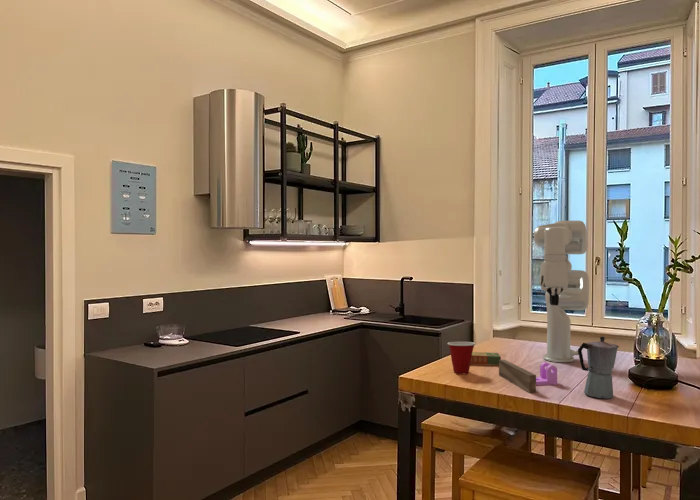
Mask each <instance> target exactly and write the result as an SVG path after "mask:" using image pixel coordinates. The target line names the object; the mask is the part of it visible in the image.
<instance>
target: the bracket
mask: <svg viewBox="0 0 700 500" xmlns="http://www.w3.org/2000/svg"><path fill="white" fill-rule="evenodd" d="M544 385H545V386H547V385H558V368H557V366H555V365H553V364H550V363H548V362H546V361H545V362H544V361H543V362H541V363H540V365H539V376H538V377H537V376H536V386H544Z"/></svg>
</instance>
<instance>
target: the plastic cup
mask: <svg viewBox="0 0 700 500" xmlns="http://www.w3.org/2000/svg"><path fill="white" fill-rule="evenodd" d="M475 345H476V343H475V342H472V341H450V342H447V346H448V348H449V352H450V357H451V364H452V369H453V373H454V374H459V375H466V374H469V372H470V367H471V365H472V364H471V358H472V352H474V347H475Z"/></svg>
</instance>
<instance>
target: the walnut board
mask: <svg viewBox="0 0 700 500" xmlns="http://www.w3.org/2000/svg"><path fill="white" fill-rule="evenodd" d="M498 376H499V377H501V378H502V379H505V380H506V381H508V382H510V383H511V384H513V385H515V386H517V387H518V388H520V389H521V390H524V391H525V392H527V393H529V394H533V393H537V385H536V377H537V375H536V374H534V373H533V372H531V371H530V370H529V371H528V370H527V369H525V368H522V367H521V366H519V365H517V364H514V363H513V362H511V361H509V360H508V359H501V360H499V365H498Z"/></svg>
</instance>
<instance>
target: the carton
mask: <svg viewBox="0 0 700 500" xmlns="http://www.w3.org/2000/svg"><path fill="white" fill-rule="evenodd" d="M499 360H502V357H501V355H500V354H499V352H486V351H485V352H482V351H480V352H479V351H473V352H472V358H471V364H470V365H475V366H476V365H478V366H479V365H480V366H482V365H483V366H484V365H485V366H499Z"/></svg>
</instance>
